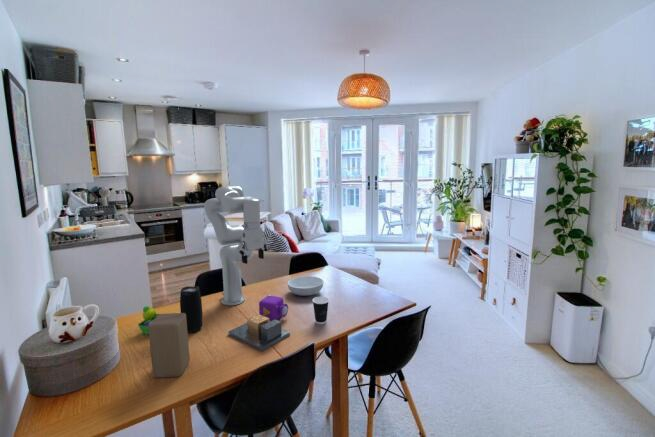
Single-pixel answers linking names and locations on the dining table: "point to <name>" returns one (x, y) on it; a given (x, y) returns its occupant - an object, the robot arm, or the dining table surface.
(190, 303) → the portable speaker
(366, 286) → the dining table surface
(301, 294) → the serving bowl
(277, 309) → the toy camera
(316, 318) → the dixie cup
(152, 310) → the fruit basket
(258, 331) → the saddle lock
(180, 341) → the wooden block
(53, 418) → the dining table surface
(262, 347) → the plate
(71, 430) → the dining table surface
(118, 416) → the dining table surface
